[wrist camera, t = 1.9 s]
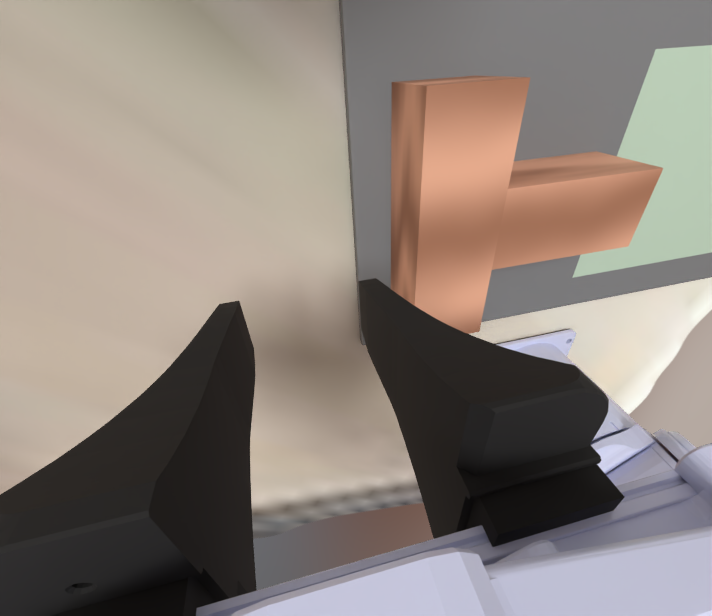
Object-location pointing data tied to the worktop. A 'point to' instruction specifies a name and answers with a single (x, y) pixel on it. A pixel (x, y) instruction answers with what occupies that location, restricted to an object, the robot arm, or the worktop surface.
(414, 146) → the t block
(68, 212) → the worktop surface
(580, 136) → the mat
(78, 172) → the worktop surface
